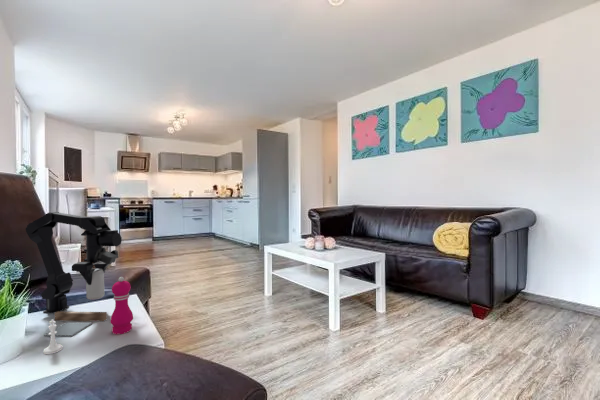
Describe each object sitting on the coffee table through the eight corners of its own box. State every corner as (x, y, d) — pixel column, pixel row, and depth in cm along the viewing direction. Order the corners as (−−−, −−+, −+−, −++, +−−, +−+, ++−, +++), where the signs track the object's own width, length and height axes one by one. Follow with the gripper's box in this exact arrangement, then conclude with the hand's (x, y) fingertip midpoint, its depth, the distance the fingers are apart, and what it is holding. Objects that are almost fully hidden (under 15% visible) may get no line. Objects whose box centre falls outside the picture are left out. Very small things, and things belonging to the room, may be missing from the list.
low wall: (54, 320, 120) (54, 313, 120) (58, 318, 122) (57, 311, 121) (104, 321, 119) (104, 313, 119) (106, 319, 121) (106, 312, 121)
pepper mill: (109, 336, 107) (108, 280, 106) (111, 328, 113) (110, 275, 112) (133, 332, 110) (132, 278, 109) (133, 324, 116) (132, 273, 116)
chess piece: (50, 346, 100) (49, 316, 100) (66, 345, 100) (65, 316, 100) (39, 354, 95) (38, 323, 95) (55, 353, 96) (55, 322, 95)
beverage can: (95, 300, 125) (94, 272, 125) (82, 299, 126) (81, 271, 126) (108, 295, 131) (107, 268, 131) (95, 294, 132) (94, 267, 132)
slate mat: (44, 336, 107) (44, 334, 107) (66, 323, 117) (66, 322, 117) (71, 336, 107) (71, 335, 107) (91, 324, 117) (91, 322, 117)
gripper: (97, 250, 119) (98, 289, 119) (126, 242, 137) (126, 276, 138) (70, 250, 119) (71, 289, 119) (102, 242, 137) (103, 276, 138)
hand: (95, 282), depth 129 cm, fingers closed on beverage can, 6 cm apart
